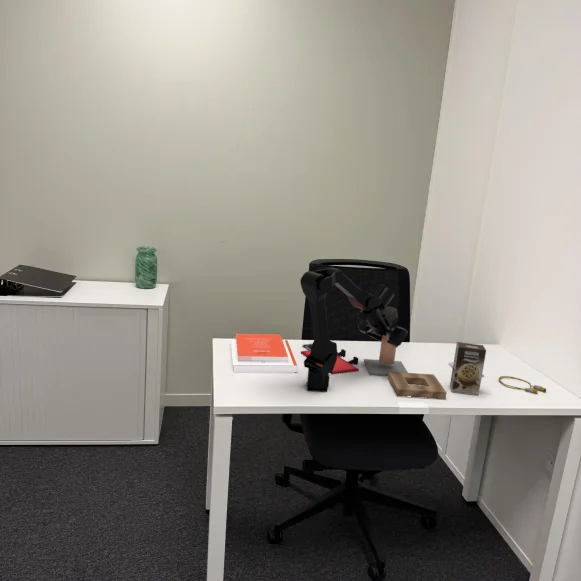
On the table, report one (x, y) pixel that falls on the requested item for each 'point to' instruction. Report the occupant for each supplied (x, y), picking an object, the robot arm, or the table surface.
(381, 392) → the table surface
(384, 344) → the plug
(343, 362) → the red board with handle
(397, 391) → the pocket board
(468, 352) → the coffee box
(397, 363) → the mat
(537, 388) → the extension cord
